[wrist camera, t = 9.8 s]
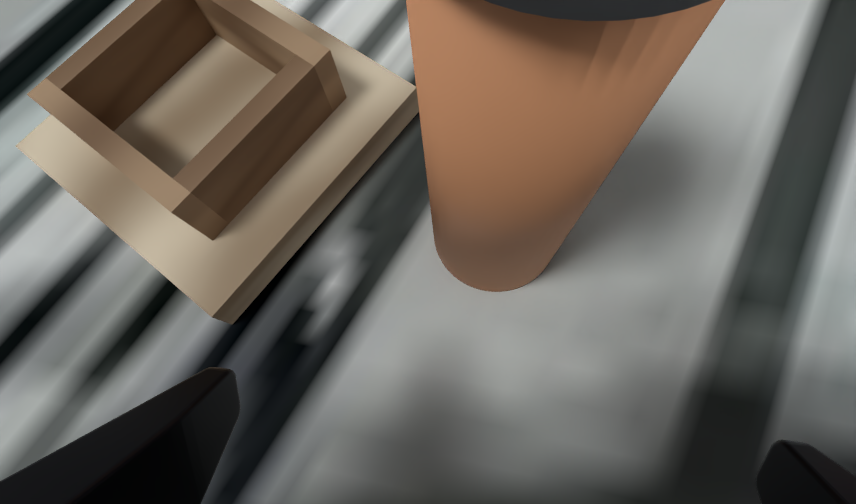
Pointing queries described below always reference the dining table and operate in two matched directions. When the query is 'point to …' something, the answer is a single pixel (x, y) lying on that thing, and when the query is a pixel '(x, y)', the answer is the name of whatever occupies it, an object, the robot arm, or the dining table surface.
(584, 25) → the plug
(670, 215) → the dining table surface
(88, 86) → the square wooden holder
